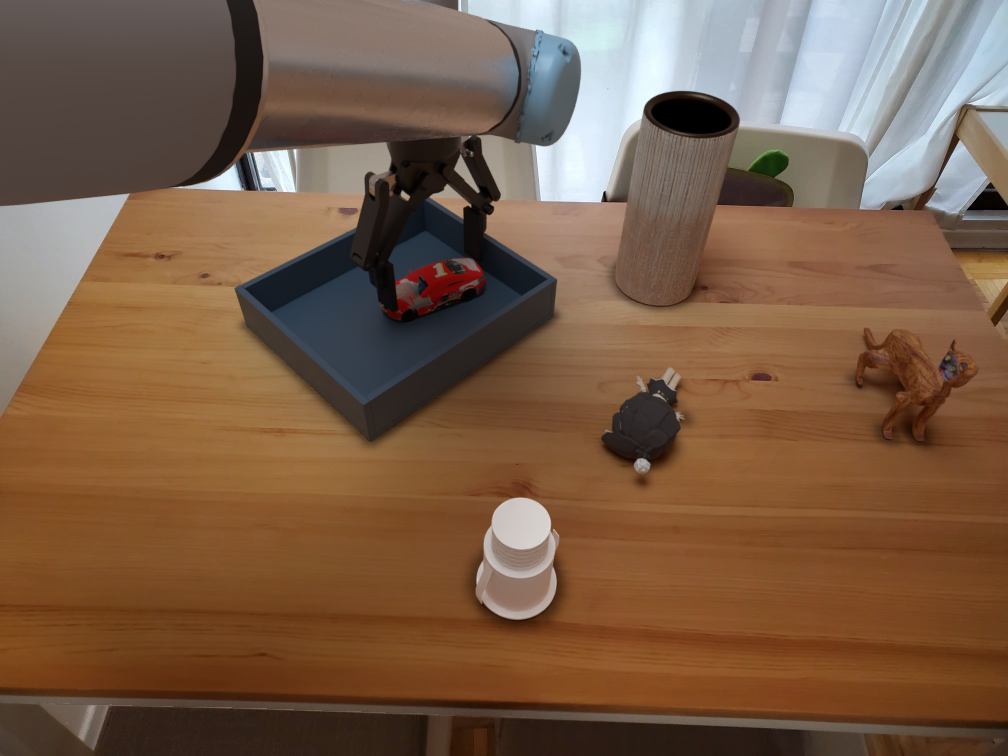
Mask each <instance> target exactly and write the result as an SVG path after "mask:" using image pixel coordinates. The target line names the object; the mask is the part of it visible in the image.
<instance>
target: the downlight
mask: <svg viewBox="0 0 1008 756" xmlns="http://www.w3.org/2000/svg"><path fill="white" fill-rule="evenodd" d="M551 527H552V519H551V517H550V514H549V512H548V511H547V510H546V508H545V507H544V506H543V505H542V504H541V503H539V502H538V501H536V500H534V499H532V498H527V497H514V498H509V499H507V500H505V501H503V502H502V503H501V504H500V505H498V506H497V508H496V509H495V510H494V512H493V514H492V517H491V525H490V527H489V528H488V529H487V531H486V533H485V534H484V538H483V560H482V561H481V563H480V565H479V567H478V569H477V573H476V580H475V581H476V587H475V596H476V598H477V600H478V601H479V602H480V604H481V605H482V604H483V605H484V606H485V607H486V608H487V609H488V610H489V611H491V612H492V613H493V614H495V615H497V616H499V617H501V618H505V619H507V620H514V621H520V620H521V621H522V620H527V619H530V618H534V617H536V616H538V615H540V614H541V613H543V611H545V610H546V609H547V608H548V607H549V606H550V604H551V603H552V602H553V599H554V597H555V595H556V592H557V584H558V583H557V581H558V580H557V579H558V578H557V574H556V571H555V568H554V560H555V553H556V551H557V548H558V547H559V544H560V538H561V537H560V535H559V534H558V533H557V531H556V530H555V528H553V529H551ZM551 530H552V531H551Z"/></svg>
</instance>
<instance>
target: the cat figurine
mask: <svg viewBox="0 0 1008 756" xmlns="http://www.w3.org/2000/svg"><path fill="white" fill-rule="evenodd" d="M863 334H864V337H865V339H866V342H867V344H868V347H869V348H870V349H868V350H865V351H864V352H862V353H860V354H859V355H858V358H857V364H856V374H855V375H856V376H855V380H856V383H857V384H858V385H859V386H861V387H862V386H863V385H864V381H863V377H864V374H865V371H866V367H867V368H869V369H870V370H872V369H874V370H875V369H884V370H887V371H888V372H891V373H892V374H894V376H896V378H897V379H898V380H899V381H900V383H901V385H902V386H903V389H904V391H898V392H896V394H895V400H894V403H893V405H892V406H891V408H890V409H889V410H888V411H887V413H886V414H885V416H884V418H883V421H882V426H881V429H882V436H883V438H884V439H886V440H893V439H894V437H893V431H892V430H893V426H894V423H895V421H896V418H897V417H898V416H899V415H900V414H901V413H903V412H904V410H905V408H906V407H907V406H908V405H909V404H912V405H916V406H918V407H919V406H920V407H923V408H922V409H921V410H919V412H918V413H917V415H916V417H915V418H914V420H913V422H912V426H911V431H912V433H911V434H912V436H913V439H914V440H915V441H917V442H924V441H925V428H926V425H927V422H928V421H929V420H930V418H931V417H933V416H934V415H935V414H936V413H937V411H938V410H939V409H940V407H942V405H944V404H945V403H946V402H947V398H949V397H950V395H951V393H952V389H959V388H961V387H964V386H965V385H967V384H968V383H969V382H970V381H971V380H972V379H974V377H975V376H977V375H978V373H979V371H980V369H979V366H978V364H977V362H976V361H975V359H974V358H973V356H972V355H970V354H968V353H966V352H964V351H961V350H959V349H957V339H956V338H954V339H953V340H952V342H951V343H950V346H949V348H948V351H947V353H946V354H945V355H944V356H943V358H942V359H941V361H940V363H939V365H938V368H937V370H938V373H939V374H940V375H939V377H942V378H941V380H940V381H942V380H943V381H942V385H941V384H940V381H939V379H938V378H939V377H938V375H937V372H936V369H935V366H934V363H933V362H932V360H931V357H930V356H929V354H928V353H927V350H926V349H925V348H924V346H923V342H922V341H921V338H920V336H919V335H917V334H915V333H913V332H912V331H909V330H906V329H900V328H895V329H892V331H891V332H889V334H888V335H887V336H886V338H885V339H884V341H882V343H880V344H879V343H878V342H877V341H876V339H875V337H874V335H873V332H872V331H871V329H870V328H868V327H863Z"/></svg>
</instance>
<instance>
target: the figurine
mask: <svg viewBox="0 0 1008 756" xmlns="http://www.w3.org/2000/svg"><path fill="white" fill-rule="evenodd" d="M634 378H635V379H636V381H635V382H634V383H635V384H636V385H637V386H638V387H639V388H640V389H639V390H640V392H637V393H636V394H635V395H633V396H632V397H630V398H627V399H625V400H624V402H623V403H622V404H621V405H620V406H619V411H617V412H615V413H613V415H612V419H611V422H612V423H611V430H612V431H611V430H608V429H605V430H604V434H602V436H601V437H600V439H601V441H602V442H603V443H604V444H605V445H606V446H607V447H609V448H610V449H611V450H612V451H614V453H616V454H618V455H619V456H620V457H623V458H625V459H631V460H636V461H634V463H633V468H634V469H635V472H636V473H637V474H640V475H645V474H647V473H648V472H649V471H650V470H651V469H650V468H651V463H650V462H649V461H653V460H656V459H658V458H659V457H660V456H661V454H663V453H665V452H667V451H668V450H669V449H670V448H671V445H672V443H674V442H675V440H676V438H677V434H678V433H679V432H680V431H681V429H682V428H681V424H680V421H681V420H683V421H684V420H685V418H684V415H685V414H681V413H682V412H681V411H678V412H676V411H675V409H674V408H673V407H672V405H674V404H677V403H679V400H678V398H677V396H678V391H677V389H676V388H677V386H678V385H679V382H680V381H681V379H682V376H681V375H680V374H679V373H678V372H676V370H675V369H673V368H672V367H671V366H669V367H668V368H666V369H665V371H664V372H663V375H662V376H661V377H660V378H657V379H656V378H653V377H650V379H649V382H647V383H646V387H647V388H646V387H645V384H644V381H643V378H642V377H640V376H639V375H637V376H636V375H635V377H634ZM647 390H648V391H647ZM680 419H681V420H680Z"/></svg>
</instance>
